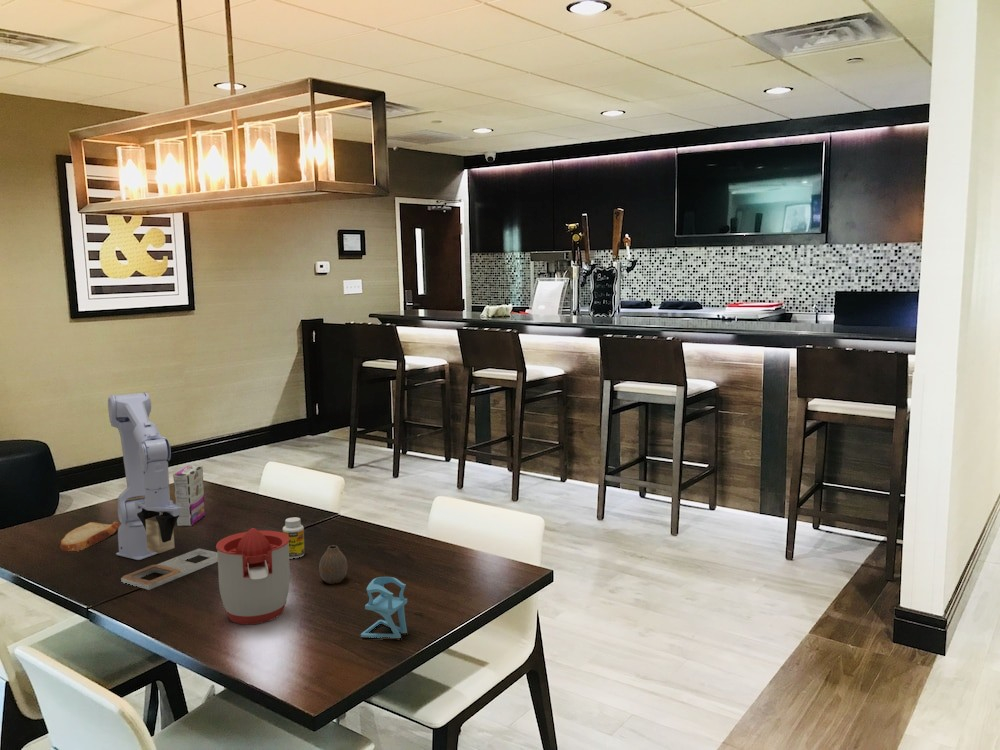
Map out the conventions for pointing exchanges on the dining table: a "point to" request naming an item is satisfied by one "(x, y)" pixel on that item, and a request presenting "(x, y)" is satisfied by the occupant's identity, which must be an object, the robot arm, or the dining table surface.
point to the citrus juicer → (254, 575)
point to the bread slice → (87, 535)
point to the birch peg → (156, 537)
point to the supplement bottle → (295, 537)
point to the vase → (333, 565)
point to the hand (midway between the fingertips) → (159, 539)
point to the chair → (386, 607)
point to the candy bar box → (189, 495)
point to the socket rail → (170, 569)
